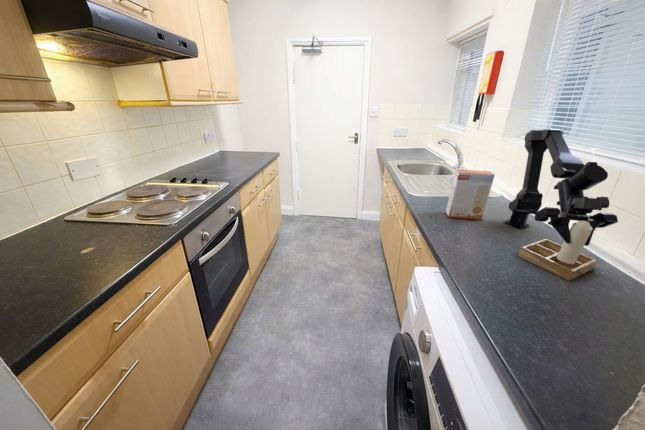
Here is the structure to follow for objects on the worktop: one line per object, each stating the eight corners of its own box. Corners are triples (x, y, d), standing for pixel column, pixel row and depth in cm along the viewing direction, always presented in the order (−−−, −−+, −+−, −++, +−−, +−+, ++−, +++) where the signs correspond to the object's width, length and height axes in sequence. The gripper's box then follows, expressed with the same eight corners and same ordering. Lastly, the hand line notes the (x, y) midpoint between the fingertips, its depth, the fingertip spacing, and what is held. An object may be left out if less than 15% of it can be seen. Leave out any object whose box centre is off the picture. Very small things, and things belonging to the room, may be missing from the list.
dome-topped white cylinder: (556, 254, 85) (574, 216, 79) (574, 259, 83) (594, 220, 77) (556, 260, 82) (575, 221, 76) (575, 266, 80) (596, 226, 74)
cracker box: (476, 215, 121) (490, 170, 113) (481, 220, 116) (496, 174, 107) (444, 212, 124) (455, 168, 115) (447, 217, 118) (459, 172, 109)
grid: (542, 246, 97) (545, 238, 96) (592, 268, 85) (597, 260, 84) (517, 255, 91) (521, 247, 90) (568, 280, 79) (573, 271, 78)
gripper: (554, 182, 78) (560, 232, 73) (630, 188, 74) (642, 241, 69) (532, 197, 88) (535, 242, 83) (597, 203, 84) (605, 251, 79)
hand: (577, 244), depth 78 cm, fingers closed on dome-topped white cylinder, 4 cm apart
